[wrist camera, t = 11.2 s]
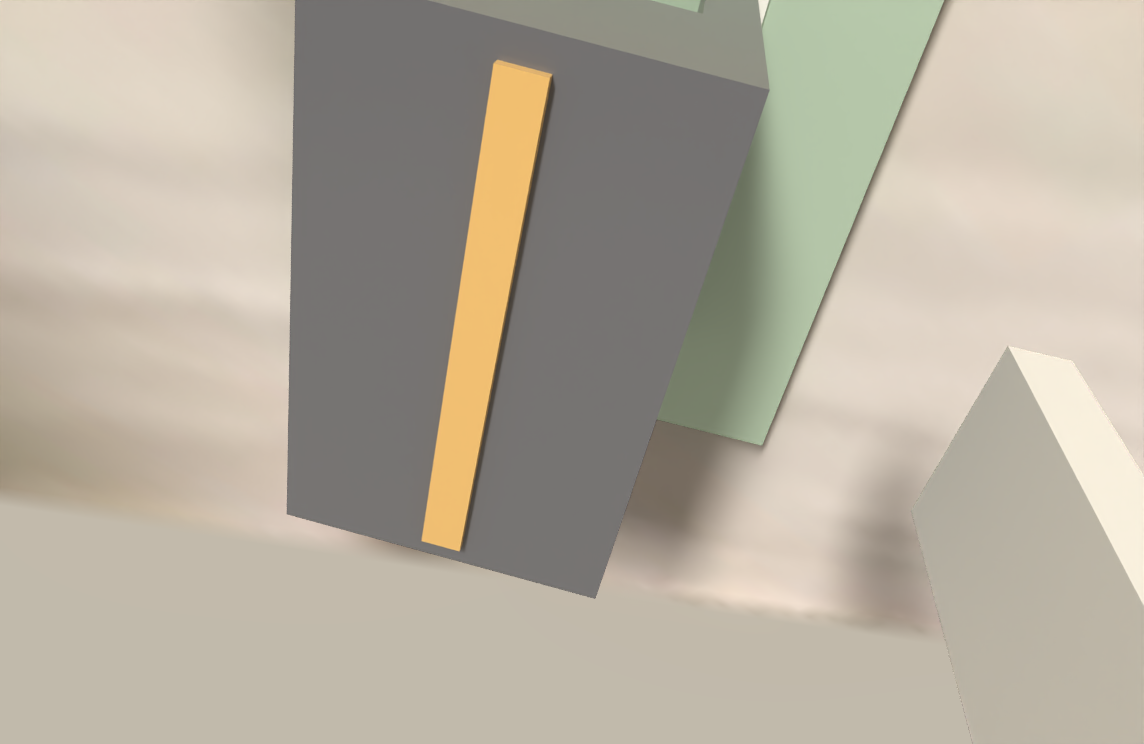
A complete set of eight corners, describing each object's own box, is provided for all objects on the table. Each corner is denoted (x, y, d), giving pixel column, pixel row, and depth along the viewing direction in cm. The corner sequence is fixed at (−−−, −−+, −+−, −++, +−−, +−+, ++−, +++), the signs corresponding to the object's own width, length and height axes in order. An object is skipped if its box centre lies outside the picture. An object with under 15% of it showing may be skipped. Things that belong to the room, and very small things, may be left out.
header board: (322, -312, 15) (203, -350, 11) (994, -162, 14) (1071, -158, 11) (317, 312, 22) (243, 398, 19) (761, 422, 22) (765, 529, 18)
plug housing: (487, -98, 15) (289, -32, 8) (754, -28, 15) (769, 94, 8) (437, 282, 20) (282, 521, 13) (642, 337, 20) (593, 606, 13)
